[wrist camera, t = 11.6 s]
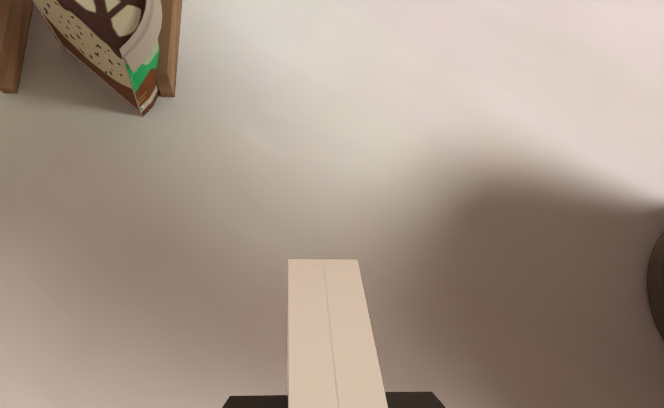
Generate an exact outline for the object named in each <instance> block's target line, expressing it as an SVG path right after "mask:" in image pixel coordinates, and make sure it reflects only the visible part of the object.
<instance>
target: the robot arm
mask: <svg viewBox="0 0 664 408" xmlns="http://www.w3.org/2000/svg"><path fill="white" fill-rule="evenodd" d="M648 295H649V301H650V306H651V310H652V313H653V316H654V319H655V322H656V324H657V327H658V329H659V331H660V333H661V335H662V337H663V339H664V233H663V235H662V236H661V237H660V239H659V240H658V242H657V244H656V246H655V248H654V250H653V253H652V256H651V259H650V264H649V270H648ZM222 408H445V406H444V405H443V404H442V403H441V402H440V401H439V400H438V398H437V397H436V396H435V395H434V394H433V393H432V392H385V391H384V386H383V381H382V376H381V371H380V366H379V361H378V357H377V352H376V347H375V342H374V337H373V332H372V327H371V323H370V318H369V313H368V308H367V303H366V298H365V293H364V289H363V284H362V279H361V274H360V269H359V264H358V259H288V304H287V395H274V396H230V397H229V399H228V400H227V401H226V403H225V404H224V406H223V407H222Z"/></svg>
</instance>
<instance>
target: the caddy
mask: <svg viewBox="0 0 664 408" xmlns="http://www.w3.org/2000/svg"><path fill="white" fill-rule="evenodd" d="M160 1H161V5H162V24H161V30H160V33H159V37H158V44H159V57H158V63H157V67H156V70H155V72H154V74H155V79H156V82H157V85H158V88H159V91H160V93H161V96H162V97H175V84H176V71H177V58H178V46H179V33H180V20H181V7H182V0H160ZM32 8H33V1H32V0H0V89H1V90H2V91H3V93H17V92H18V86H19V81H20V75H21V69H22V64H23V58H24V53H25V47H26V41H27V36H28V30H29V25H30V19H31V13H32Z"/></svg>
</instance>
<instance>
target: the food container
mask: <svg viewBox="0 0 664 408" xmlns="http://www.w3.org/2000/svg"><path fill="white" fill-rule="evenodd" d="M32 1H33V2H34V4H35V6H36V7H37V9H38V10H39V12H40V14H41V15H42V17H43V18H44V20H45V22H46V23H47V25H48V26H49V28H50V30H51V31H52V33H53V34H54V36H55V38H56V39H57V41H58V42H59V44H60V45H61V47H62V48H64V49H65V50H66V51H67V52H68V53H69V54H71V55H72V56H73V57H74V58H75V59H76V60H78V61H79V62H80V63H81V64H82V65H83V66H84V67H86V68H87V69H88V70H89V71H90V72H91V73H93V74H94V75H95V76H96V77H97V78H98V79H100V80H101V81H102V82H103V83H104V84H105V85H107V86H108V87H109V88H110V89H111V90H112V91H113V92H115V93H116V94H117V95H118V96H119V97H120V98H122V99H123V100H124V101H125V102H126V103H127V104H129V105H130V106H131V107H132V108H133V109H134V110H136V111H137V112H138V113H139V114H140V115H141V116H142V117H143V116H144V115H145V114H146V113H147V112H148V111H149V110H150V109H151V108H152V107H153V105H154V103H155V101H156V99H157V98H158V96H159V94H160V91H159V88H158V85H157V82H156V79H155V74H154V72H155V70H156V67H157V63H158V57H159V44H158V37H159V33H160V30H161V24H162V5H161V1H160V0H32Z"/></svg>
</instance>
